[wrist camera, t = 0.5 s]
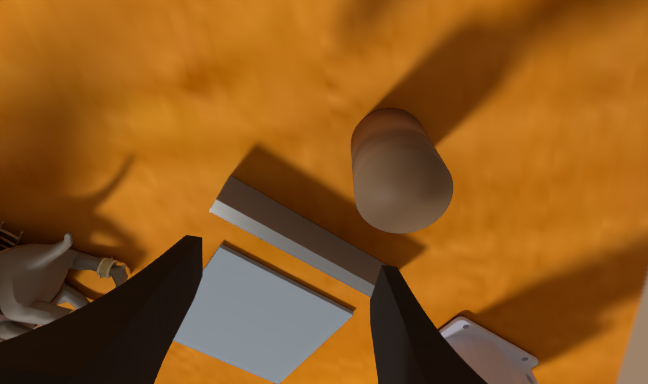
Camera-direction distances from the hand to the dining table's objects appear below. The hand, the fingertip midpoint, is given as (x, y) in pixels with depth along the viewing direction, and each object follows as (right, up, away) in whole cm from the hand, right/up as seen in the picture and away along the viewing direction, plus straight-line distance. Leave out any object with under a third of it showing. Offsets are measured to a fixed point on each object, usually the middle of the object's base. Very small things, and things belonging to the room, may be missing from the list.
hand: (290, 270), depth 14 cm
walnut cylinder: (+5, +6, +7) cm, 11 cm away
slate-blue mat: (-5, -8, +16) cm, 18 cm away
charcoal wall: (+1, 0, +11) cm, 11 cm away
